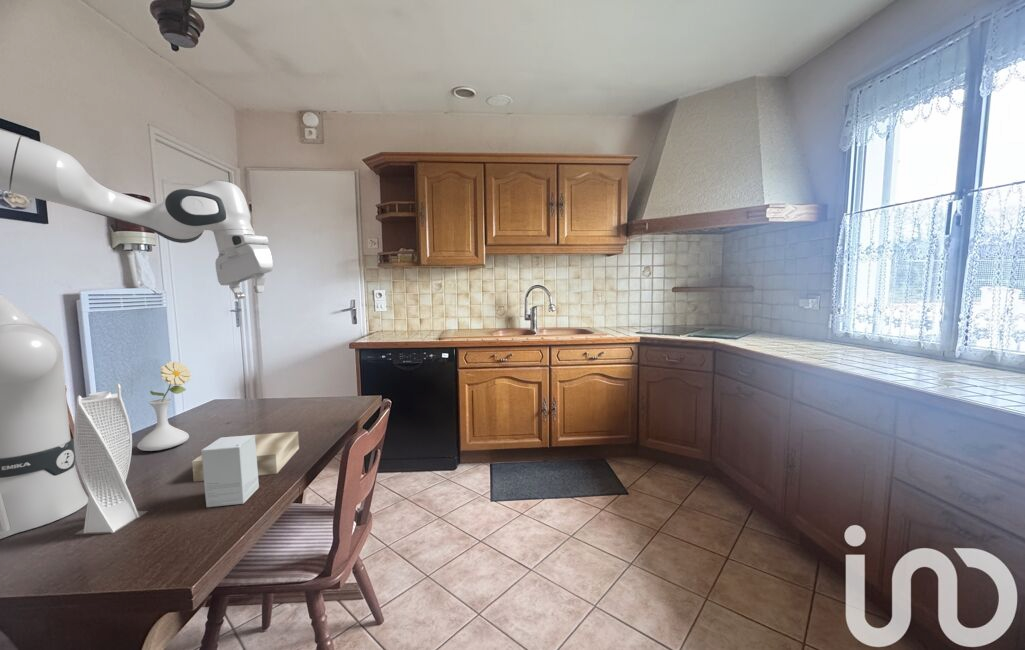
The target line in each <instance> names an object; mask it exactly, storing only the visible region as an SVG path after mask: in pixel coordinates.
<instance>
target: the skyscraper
mask: <svg viewBox="0 0 1025 650" xmlns="http://www.w3.org/2000/svg"><path fill="white" fill-rule="evenodd" d="M115 385H116V386H115V387H116V393H115V392H114V393H112V391H107V390H106V391H105V390H104V391H99V392H92V393H88V396H87V397H82V396H81V395H77V397H76V409H75V416H74V424H73V426H74V427H73V439H74V450H75V463H76V465H77V469H78V472H79V475H80V477H81V478H80V479H81V480H82V483H83V485H84V487H85V490H86V492H87V494H88V503H87V504H86V506H87V508H86V513H85V519H84V520H85V521H84V527H83V528H82V529H80V530H79V531H76V532H75V533H74V535H93V534H98V535H99V534H101V535H102V534H115V533H116V532H118V531H119V530H121V529H123V528H124V527H125V526H127V525H129V524H131V523H132V522H133V521H135V520H137V519H139V518H140V517H142V516H143V515H145V514H147V513H148V510H144V511H143V510H141V511H138V510H137V507H136V505H135V503H134V500H133V497H132V494H131V492H130V490H129V488H128V486H127V483H126V480H127V478H128V474H129V470H130V466H131V465H130V464H131V459H132V452H133V451H132V450H133V435H132V426H131V423H130V419H129V416H128V412H127V409H126V406H125V402H124V400H123V397H122V386H121V384H120V383H117V384H115Z"/></svg>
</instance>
